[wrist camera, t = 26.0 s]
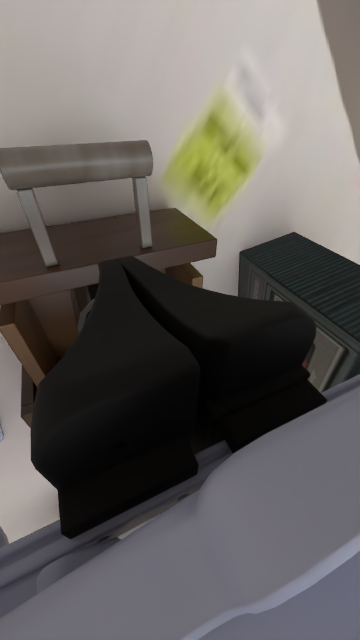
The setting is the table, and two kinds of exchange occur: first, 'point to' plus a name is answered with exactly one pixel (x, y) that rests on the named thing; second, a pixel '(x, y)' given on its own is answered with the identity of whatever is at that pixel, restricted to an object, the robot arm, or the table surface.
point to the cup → (83, 303)
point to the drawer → (80, 244)
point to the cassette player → (311, 300)
